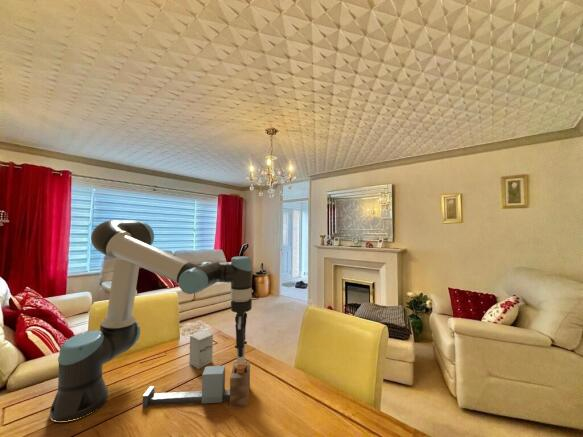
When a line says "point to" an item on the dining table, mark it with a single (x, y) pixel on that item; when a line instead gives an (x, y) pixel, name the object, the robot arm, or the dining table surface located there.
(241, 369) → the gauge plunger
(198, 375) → the dining table surface
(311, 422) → the dining table surface
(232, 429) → the dining table surface
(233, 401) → the end block
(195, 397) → the rail
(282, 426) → the dining table surface
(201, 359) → the supplement box
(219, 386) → the block
